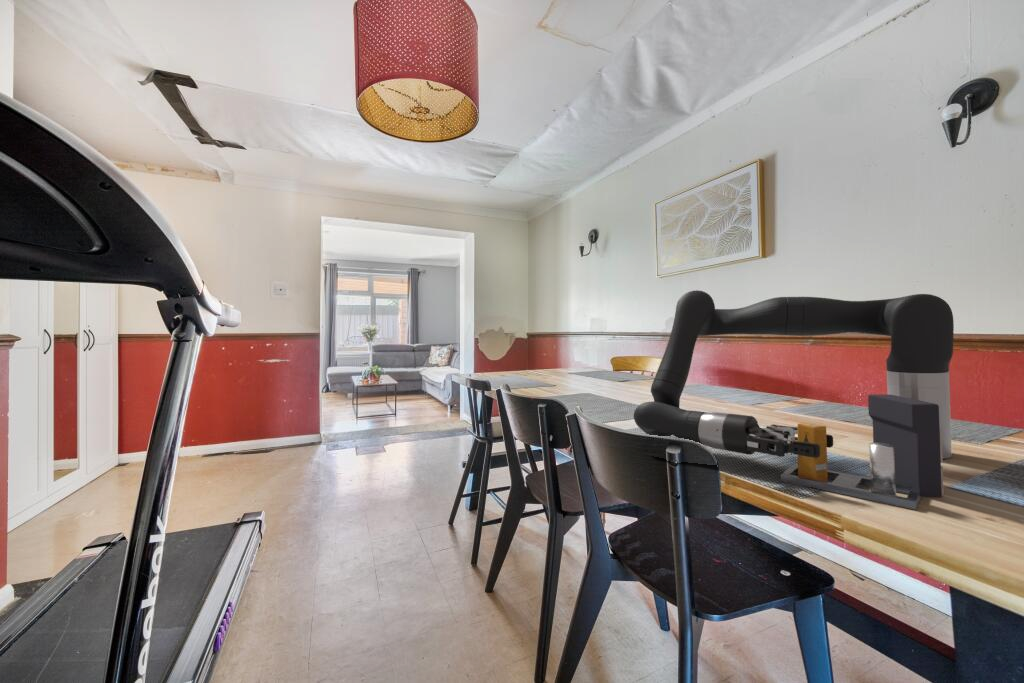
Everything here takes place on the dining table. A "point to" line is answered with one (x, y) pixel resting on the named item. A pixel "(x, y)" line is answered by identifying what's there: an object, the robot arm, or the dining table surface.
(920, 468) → the black coffee maker
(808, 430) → the supplement box
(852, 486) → the hole plate
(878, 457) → the steel pin
